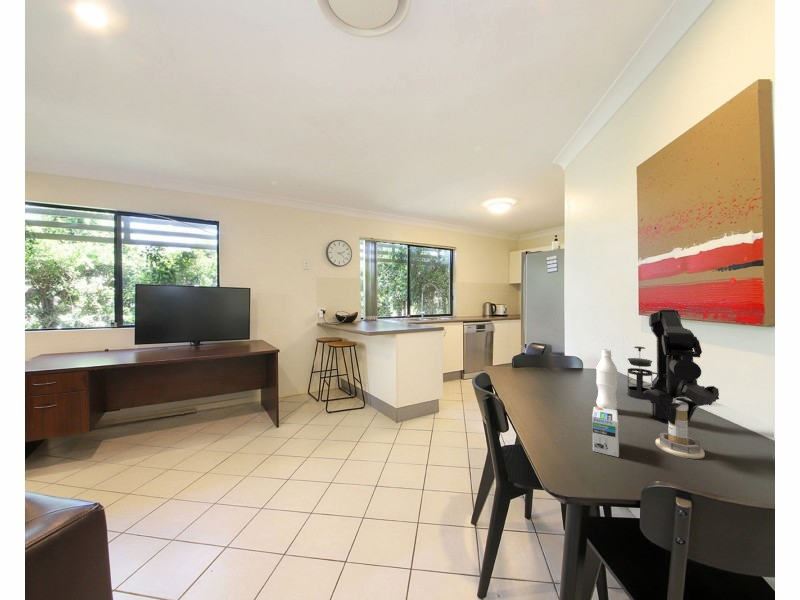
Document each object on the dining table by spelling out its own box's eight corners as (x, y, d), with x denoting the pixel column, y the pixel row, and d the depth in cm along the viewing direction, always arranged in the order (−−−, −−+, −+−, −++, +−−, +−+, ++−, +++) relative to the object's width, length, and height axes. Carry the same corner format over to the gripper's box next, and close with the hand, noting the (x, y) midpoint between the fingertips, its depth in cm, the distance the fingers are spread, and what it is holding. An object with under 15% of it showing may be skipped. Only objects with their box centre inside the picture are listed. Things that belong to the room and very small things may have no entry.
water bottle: (610, 407, 127) (610, 348, 126) (621, 414, 120) (621, 351, 119) (592, 406, 128) (592, 348, 127) (602, 413, 120) (602, 351, 120)
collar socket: (646, 441, 98) (646, 432, 98) (677, 439, 99) (677, 430, 99) (681, 460, 87) (681, 449, 87) (715, 457, 88) (715, 447, 88)
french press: (624, 396, 140) (624, 347, 139) (626, 391, 147) (626, 344, 146) (657, 402, 132) (657, 349, 131) (658, 396, 139) (658, 346, 138)
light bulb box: (619, 458, 88) (619, 421, 88) (592, 451, 92) (591, 416, 92) (618, 443, 97) (618, 409, 97) (593, 437, 101) (593, 405, 101)
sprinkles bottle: (665, 440, 96) (665, 398, 96) (684, 443, 94) (684, 400, 94) (671, 447, 92) (671, 403, 92) (690, 450, 90) (691, 405, 90)
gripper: (678, 381, 83) (678, 437, 84) (737, 378, 85) (737, 433, 85) (642, 371, 94) (642, 421, 95) (695, 369, 96) (695, 417, 97)
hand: (679, 423), depth 92 cm, fingers closed on sprinkles bottle, 4 cm apart
